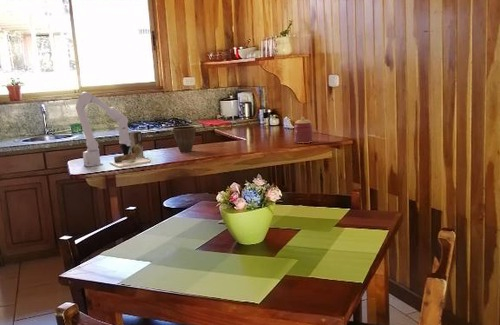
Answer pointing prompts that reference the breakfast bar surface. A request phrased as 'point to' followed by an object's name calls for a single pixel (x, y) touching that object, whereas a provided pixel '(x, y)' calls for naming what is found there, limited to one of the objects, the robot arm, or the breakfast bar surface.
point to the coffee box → (136, 143)
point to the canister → (303, 130)
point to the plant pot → (184, 137)
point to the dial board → (130, 162)
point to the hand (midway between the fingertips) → (126, 156)
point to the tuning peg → (124, 157)
